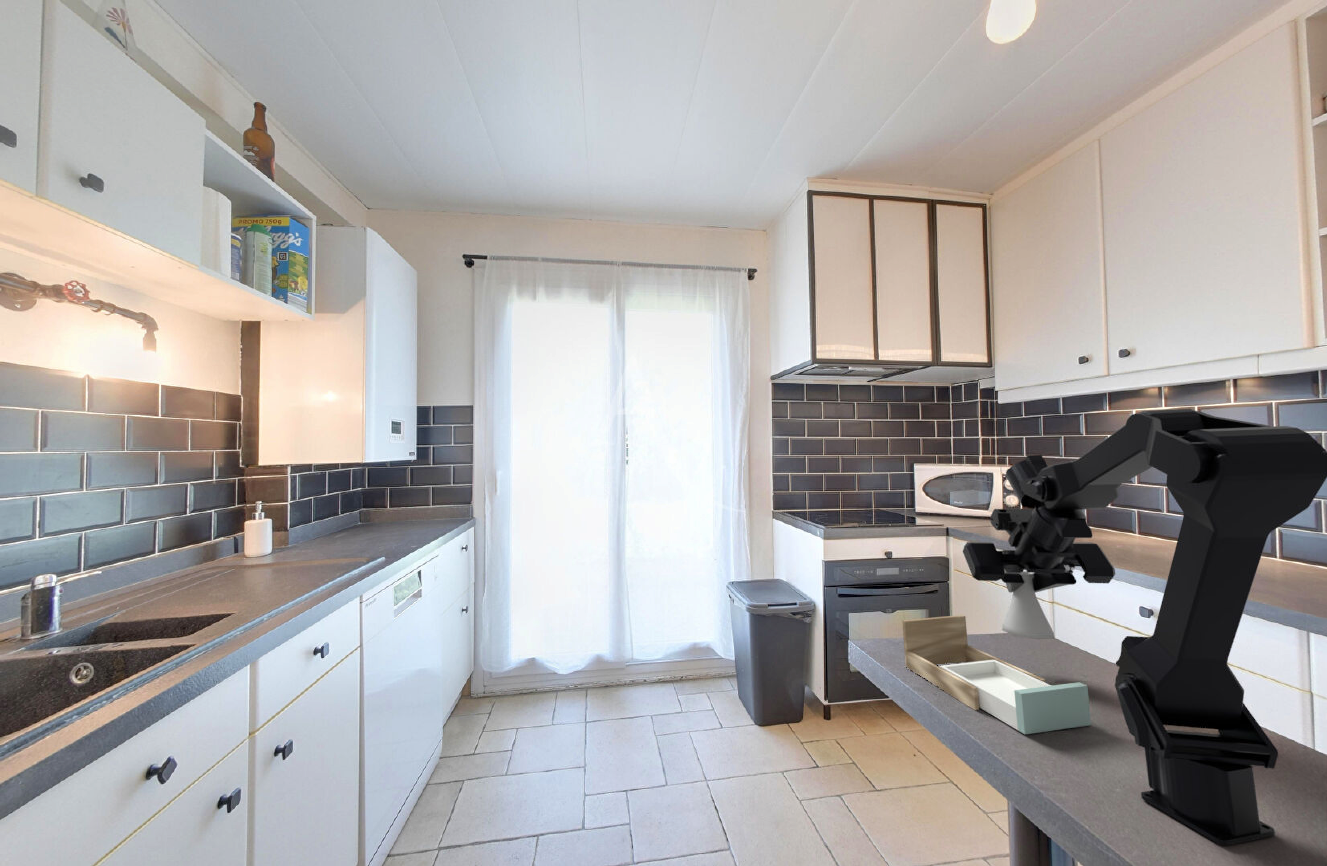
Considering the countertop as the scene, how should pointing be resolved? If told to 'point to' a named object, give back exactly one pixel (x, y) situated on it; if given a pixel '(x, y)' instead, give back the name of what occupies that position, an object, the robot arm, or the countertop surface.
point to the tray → (1025, 697)
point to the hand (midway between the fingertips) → (1019, 590)
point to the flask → (1027, 613)
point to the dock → (944, 654)
